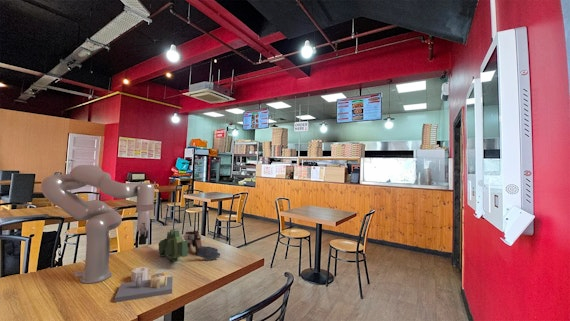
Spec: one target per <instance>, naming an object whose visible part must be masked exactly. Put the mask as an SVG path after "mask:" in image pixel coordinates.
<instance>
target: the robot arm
mask: <svg viewBox="0 0 570 321" xmlns="http://www.w3.org/2000/svg"><path fill="white" fill-rule="evenodd" d="M86 186H90V187H94V188H97V189H98V190H99V191H100V192H101V193H103V194H104V195H107V196H110V197H112V198H116V199H118V200H119V199H121V200H125V199H130V198H135V197H136V206H135V207H136V209H135V210H136V212H138V214H137V224H136V225H137V226H136V232H139V235H138V245H139V246H140V245H142V246H143V245H146V244H147V239H148V238H149V229H150V224H151V212H153V211H154V201H155V185H154V183H143V182H142V183H141V182H137V181H136V182H135V181H134V182H125V183H123V182H119V181H116V180H112V176H111V174H110V173H109V172H105V171H103V168H101V167H100V166H98V165H94V164H92V165H91V164H87V165H86V164H81V165H77V166H74V167H73V168H72V169H71V170H70V173H60V174H59V173H57V174H53V175H49V176H47V177H45V178H44V179H43V181H42V182H41V186H40V187H41V193H42V195H43V196H44V197H45V198H46V200H48V201H49V202H50V203H52V204H53V205H55V206H57V207H58V208H60V209H61V210H62V211H63V212H65V213H66V214H68V216H70V217H72V218H73V219H75V220H76V221H79V222H83V221H86V223H85V225H84V226H85V227H84V230H85V236H86V237H85V238H86V246H85V248H86V249H85V261H84V262H85V263H84V269H82V270H76V271H73V276H75V278H77V277H80V279H79V280H80V283H82V284H95V283H99V282H103V281H106V280H107V279H109V278H111V277H112V275H113V272H112V271H111V270H109V268H110V266H109V264H110V252H111V251H110V250H111V249H110V248H111V239H110V235H109V231H111V230H115V229H117V228H118V227H120V225H121V224H122V221H123V220H122V215H120V213H119V212H118V211H116V210H115V209H114V208H112V207H111V206H110V205H108V204H107V203H106V202H104V201H101V200H98V199H94V200H93V199H92V200H85V199H83V198H81V197H80V196H79V195H78V194H76V193H73V192H71V191H73V190H78V189H81V188H83V187H86Z"/></svg>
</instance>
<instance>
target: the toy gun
mask: <svg viewBox="0 0 570 321" xmlns="http://www.w3.org/2000/svg"><path fill="white" fill-rule="evenodd" d="M183 241H187V246H192V247H194V250H195V253H194V254H195V255H197V254H196V253H197V252H198V250H199V248H200V246H203V245H202V235H200V230H199V229H198V230H197V229H196V230H191V231H186V232H185V233H184V235H183Z"/></svg>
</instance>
